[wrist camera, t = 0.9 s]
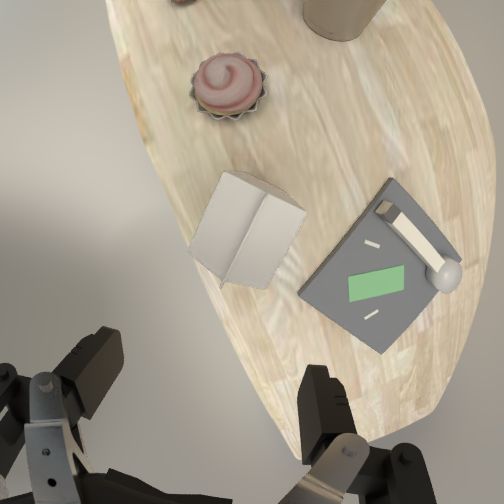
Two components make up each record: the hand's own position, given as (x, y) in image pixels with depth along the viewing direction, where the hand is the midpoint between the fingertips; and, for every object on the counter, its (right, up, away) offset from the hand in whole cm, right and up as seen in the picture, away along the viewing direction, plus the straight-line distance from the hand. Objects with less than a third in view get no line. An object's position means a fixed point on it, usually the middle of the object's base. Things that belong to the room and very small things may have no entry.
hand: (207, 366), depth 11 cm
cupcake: (-1, +25, +21) cm, 33 cm away
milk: (+2, +11, +25) cm, 28 cm away
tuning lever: (+25, +6, +24) cm, 35 cm away
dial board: (+22, +1, +27) cm, 35 cm away
